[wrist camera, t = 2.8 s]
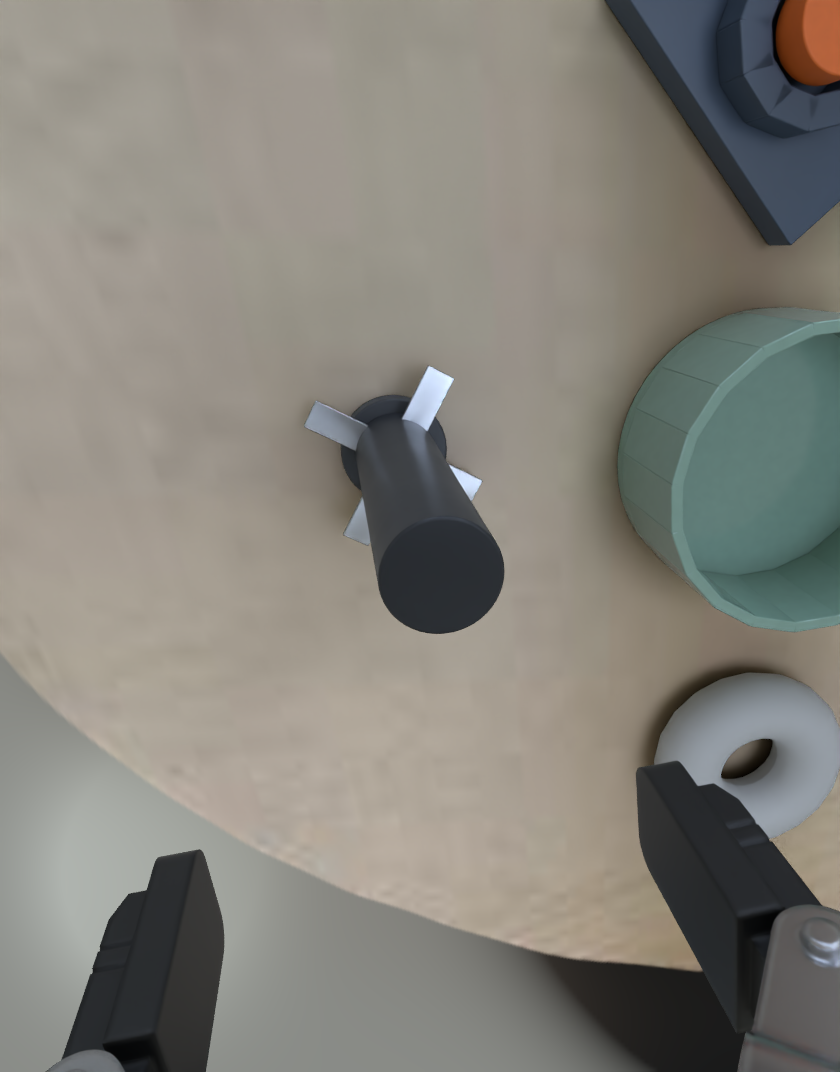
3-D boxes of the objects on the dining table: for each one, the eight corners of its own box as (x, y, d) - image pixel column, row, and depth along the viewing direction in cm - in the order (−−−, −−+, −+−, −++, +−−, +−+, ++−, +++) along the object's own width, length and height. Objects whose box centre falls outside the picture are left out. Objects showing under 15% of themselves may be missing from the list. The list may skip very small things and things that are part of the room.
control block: (603, -1, 30) (638, -32, 26) (781, -181, 28) (841, -237, 25) (768, 246, 33) (817, 245, 30) (931, 98, 32) (1000, 81, 29)
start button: (755, 24, 28) (783, 10, 26) (837, -55, 27) (870, -75, 25) (807, 109, 29) (836, 100, 27) (886, 35, 28) (921, 22, 27)
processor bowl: (561, 448, 35) (607, 484, 30) (788, 242, 34) (882, 240, 28) (716, 625, 40) (781, 686, 34) (926, 452, 38) (1031, 486, 32)
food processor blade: (272, 487, 34) (240, 647, 20) (350, 321, 32) (373, 372, 18) (430, 557, 37) (498, 745, 23) (512, 405, 35) (644, 508, 21)
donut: (828, 650, 41) (649, 669, 40) (872, 684, 38) (679, 705, 37) (802, 803, 45) (637, 825, 44) (841, 846, 42) (664, 871, 40)
